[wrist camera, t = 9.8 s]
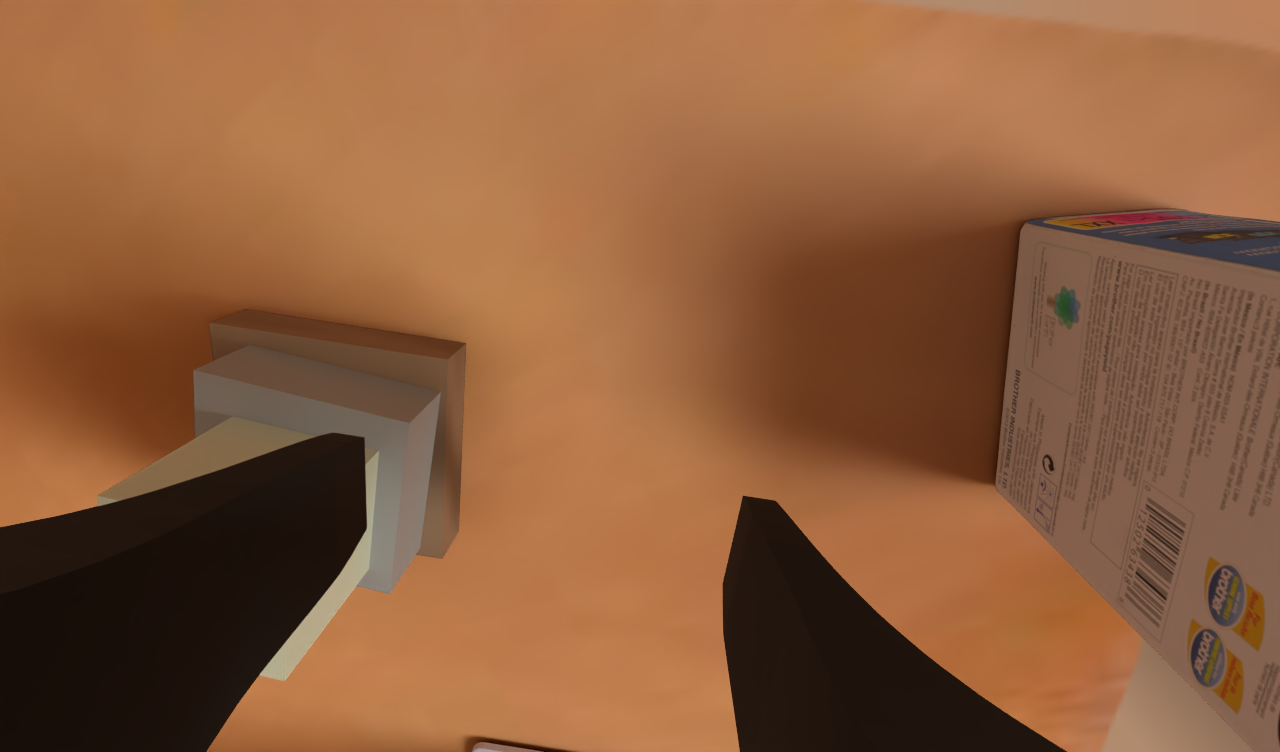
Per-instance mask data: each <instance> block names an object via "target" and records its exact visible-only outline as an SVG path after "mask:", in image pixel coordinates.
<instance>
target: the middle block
mask: <svg viewBox="0 0 1280 752" xmlns="http://www.w3.org/2000/svg"><path fill="white" fill-rule="evenodd" d="M193 381H194V419H195V438H197V437H198V436H200V435H202V434H203V433H205V432H207V431H209V430H210V429H212V428H214V427H215V426H217V425H219V424H220V423H222V422H224V421H226V420H227V419H229V418H231V417H232V416H234V417H238V418H242V419H246V420H250V421H255V422H259V423H263V424H267V425H272V426H276V427H280V428H284V429H289V430H293V431H297V432H301V433H306V434H310V435H314V436H320V435H324V434H328V433H332V432H334V433H340V434H347V435H353V436H360V437H365V448H369V449H373V450H378V451H379V458H378V470H377V481H376V493H375V505H374V516H373V528H372V540H371V551H370V563H369V570H368V571H367V572H366V574H365V575H364V576H363V578H362V579H361V580H360V582H359V583H358V584H357V586H358V587H363V588H367V589H371V590H375V591H379V592H383V593H388V594H390V593H391V591H392V590H393V588H394V587H395V585H396V584H397V582H398V581H399V579H400V578H401V576H402V575H403V573H404V572H405V570H406V569H407V567H408V566H409V564H410V563H411V561H412V560H413V558H414V557H415V555H416V554H417V552H418V551H419V549H420V546H421V538H422V531H423V523H424V516H425V508H426V501H427V493H428V486H429V478H430V471H431V463H432V456H433V448H434V441H435V433H436V426H437V418H438V411H439V403H440V396H441V392H439V391H435V390H431V389H427V388H423V387H419V386H415V385H411V384H407V383H403V382H399V381H395V380H391V379H386V378H382V377H378V376H374V375H370V374H366V373H362V372H358V371H354V370H350V369H346V368H342V367H338V366H334V365H330V364H326V363H322V362H318V361H314V360H310V359H306V358H302V357H297V356H293V355H289V354H285V353H281V352H277V351H273V350H269V349H265V348H261V347H257V346H253V345H248V346H246V347H244V348H241V349H239V350H237V351H235V352H232V353H230V354H228V355H226V356H223V357H221V358H219V359H217V360H214V361H212V362H210V363H207V364H205V365H203V366H201V367H198V368H196V369H194V370H193Z"/></svg>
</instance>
